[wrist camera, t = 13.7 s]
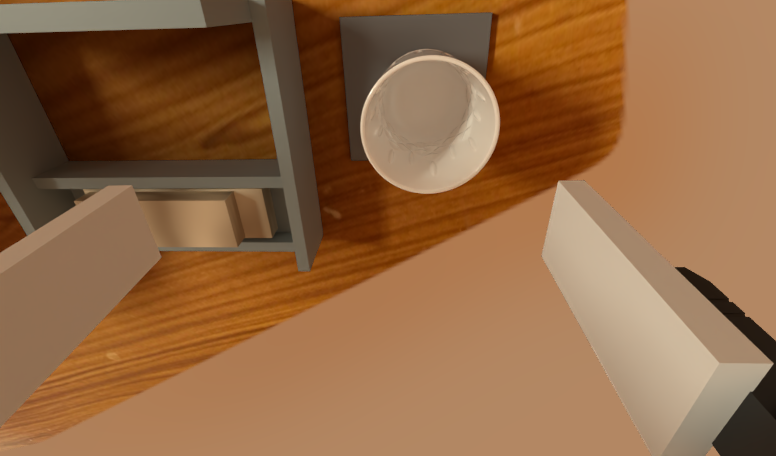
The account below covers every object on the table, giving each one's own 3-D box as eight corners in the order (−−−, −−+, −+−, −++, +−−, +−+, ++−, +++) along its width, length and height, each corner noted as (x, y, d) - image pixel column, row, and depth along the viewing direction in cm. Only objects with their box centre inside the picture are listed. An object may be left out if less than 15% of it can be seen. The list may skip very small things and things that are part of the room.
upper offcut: (110, 236, 35) (97, 246, 34) (89, 191, 33) (73, 201, 31) (245, 236, 35) (237, 247, 33) (233, 191, 32) (224, 200, 31)
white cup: (485, 122, 31) (515, 167, 22) (396, 156, 33) (392, 210, 24) (456, 20, 27) (477, 28, 19) (357, 66, 29) (336, 91, 20)
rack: (95, 234, 39) (-17, 316, 29) (-18, 9, 29) (-256, 13, 18) (323, 234, 38) (291, 321, 27) (291, -1, 27) (220, -3, 17)
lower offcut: (118, 227, 37) (106, 237, 35) (97, 180, 34) (82, 189, 33) (278, 228, 36) (272, 237, 35) (268, 180, 34) (261, 188, 32)
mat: (351, 158, 33) (351, 160, 33) (340, 17, 28) (339, 17, 27) (476, 157, 33) (477, 159, 32) (490, 12, 27) (492, 12, 27)
